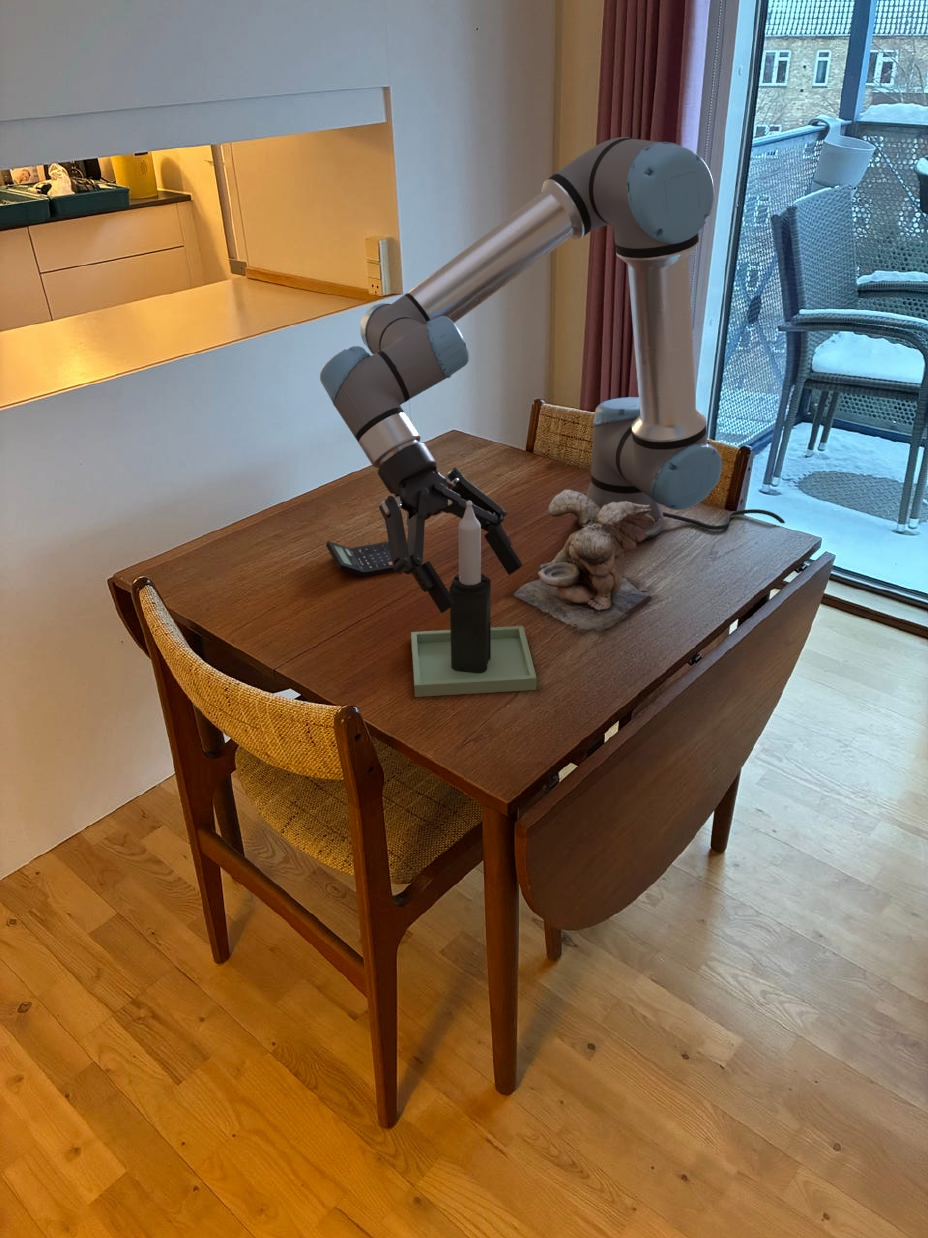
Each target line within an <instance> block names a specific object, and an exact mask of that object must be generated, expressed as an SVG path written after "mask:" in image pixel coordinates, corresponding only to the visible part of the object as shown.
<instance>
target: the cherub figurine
mask: <svg viewBox="0 0 928 1238" xmlns="http://www.w3.org/2000/svg"><path fill="white" fill-rule="evenodd" d="M548 505H549V506H548V509H547V514H548V515H549V516H551V517H554V518H557V517H561V516H564V515H566V514H572V515H574V516H575V517H576V518H577V520H578V519H579V521H580V523H581V525H582V527H583V528H582V529H581V528H580V529H578V530H575V531H573V532H572V533H570V535H569V536H568V538H567V540H566V542H565V543H564V546H563V548H562V549H561V550H560V551H559V552H558V553H557V554H556V556H555V557H554V559H553V560H551V561H550V562H546V563H543V564H540V566H539V568H538V572H537V575H538V576H539V579H535V580H532V581H529V582H527V583H525V584H523V585H521V586H520V587H519V588H518V589H517V590H516V591H515V592H514V593H513V595H512V597H515V598H517V599H519V600H521V601H524V602H525V603H528V604H529V605H531V606H533V607H536V608H538V609H539V610H540V611H541V612H542V613H545V614H549V615H550V616H552V618H554V619H557V620H558V621H561V622H562V623H564V624H566V625H569V626H571V629H573V628H577V630H576V631H577V632H579V633H586V632H588V631H589V632H590V631H595V632H597V633H599V634H602V630H605V629H609V628H612V627H613V626H614V625H616V624H617V623H619V622H620V621H622V620H623V619H624V618H626V617H628V616H629V615H630V614H632V613H633V612H635V611H636V610H638V609H639V608H640V607H642V606H643V605H645V604H646V603H647V602H649V601H650V600H651V599H653V597H652V595H649V594H647V593H646V594H645V593H643V592H646V591H647V592H648V591H649V589H648V588H645V587H643V586H640V587H639V589H638V588H636V587H635V586H634V585H633V584H632V583H631V581H629V580H628V579H626V578H623V577H622V574H621V572H620V571H619V570H618V569H617V567H616V566H615V559H618V560H619V559H622V558H623V557H624V554H625V551H628V550H632V549H636V548H638V547H637V543H641V542H642V540H643V539H645V538H647V534H646V533H645V532H644V529H649V528H652V527H653V526H654V524H655V520H654V519H653V517H652V516H650V515H649V514H648V512H650V511H651V508H650V505H640V504H635V503H631V502H628V501H624V502H617V503H616V502H612V503H609V504H607V505H604V506H603V507H602V509H600V508H599V507H598V506H597V505H596V504H595V502H594V501H592V500H591V499H589V498H588V497H587V496H586V494H584V493H582V492H579V491H576V490H572V489H563V491H561V492H560V493H559V494H556V495H555V496H554V497H553V498H552V500H551V502H550V503H549V504H548ZM643 541H644V540H643Z"/></svg>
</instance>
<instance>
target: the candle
mask: <svg viewBox="0 0 928 1238" xmlns="http://www.w3.org/2000/svg"><path fill="white" fill-rule="evenodd" d="M472 504H473V503H472V502H471V501H467V502H466V506H467V507H466V510H465V514H464V517H463V519H462V518H461V520H460V521H459V523H458V526H457V527H458V532H457V533H458V534H457V536H458V574H456V575H455V576H454V577H453V579H452V582H451V584H450V586H449V589H448V592H449V593H450V595H451V596H452V598H453V599H454V601H455V603H456V604H454V605H453V606H452V607H450V608H449V622H450V623H449V627H450V629H449V630H450V632H451V667H452V669H453V670H455V671H460V672H469V673H483V672H485V671H486V670H487V664H488V661H489V659H491V628H492V627H491V626H492V625H491V624H492V623H491V622H492V620H491V618H492V617H491V616H492V614H491V612H492V610H491V609H492V608H491V607H492V605H491V604H492V595H491V594H492V592H491V591H492V590H491V589H492V584H491V581H492V580H491V579H490V577H487V576H486V575H485V574H483V573H482V535H481V534H482V530H481V525H480V523H479V521H478V520H477V519H476V517H475V514H474V511H473V508H472Z"/></svg>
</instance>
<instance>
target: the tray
mask: <svg viewBox="0 0 928 1238" xmlns="http://www.w3.org/2000/svg"><path fill="white" fill-rule="evenodd" d="M410 641H411V656H412V671H413V672H412V673H413V687H414V688H413V689H414V697H415V698H423V697H438V696H439V697H440V696H456V695H458V696H459V695H473V694H489V693H490V694H492V693H509V692H524V691H536V690H537V682H538V681H537V680H538V678H537V674H536V671H535V666H534V663H533V658H532V655H531V650H530V647H529V643H528V638H527V635H526V631H525V627H524V625H515V626H498V627H497V626H495V627H491V659H489V661H488V664H487V670H486V671H485V672H483V673H469V672H460V671H455V670H453V669H452V667H451V632H450V629H440V630H426V631H425V630H424V631H423V630H422V631H411V632H410Z"/></svg>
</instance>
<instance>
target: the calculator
mask: <svg viewBox="0 0 928 1238" xmlns="http://www.w3.org/2000/svg"><path fill="white" fill-rule="evenodd" d="M325 547H326V548H327V550H328V552H329V554H330V556H331V557H332V560H333V561H334V563H335V565H336V566H337V568H338V570H340V571H343V572H347V573H351V574H354V575H357V576H360V577H364V578H366V577H371V576H372V577H373V576H377V575H383V574H387V573H392V572H393V573H394V572H395V571H394V569H393V564H392V558H391V552H390V547H389V541H385V542H379V543H374V544H373V543H371V544H368V545H362V546H355V547H351V548H350V547H347V546H344V545H341V544H338V543H335V542H332V541H329V540H327V541H326V544H325Z"/></svg>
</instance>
